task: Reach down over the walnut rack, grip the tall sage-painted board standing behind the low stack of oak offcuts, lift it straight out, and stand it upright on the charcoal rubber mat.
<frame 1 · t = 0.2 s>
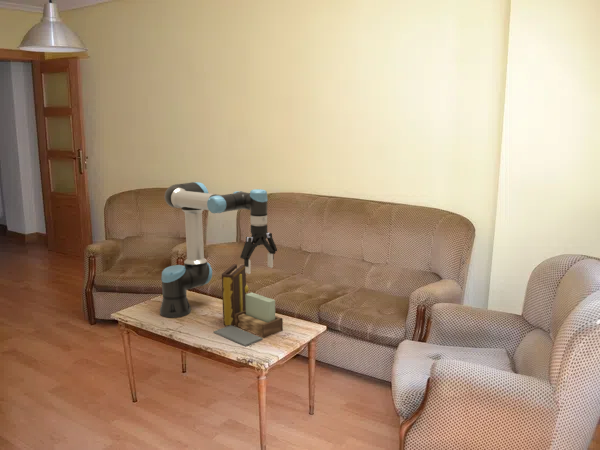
hand: (259, 270, 242), 29 cm above the table, tool pointing down, fingers open, 13 cm apart
rack: (260, 327, 250), on the table
mat: (237, 336, 240), on the table
offcut stack: (252, 324, 246), in the rack
book: (235, 318, 262), on the table
pale green slab: (260, 312, 249), in the rack
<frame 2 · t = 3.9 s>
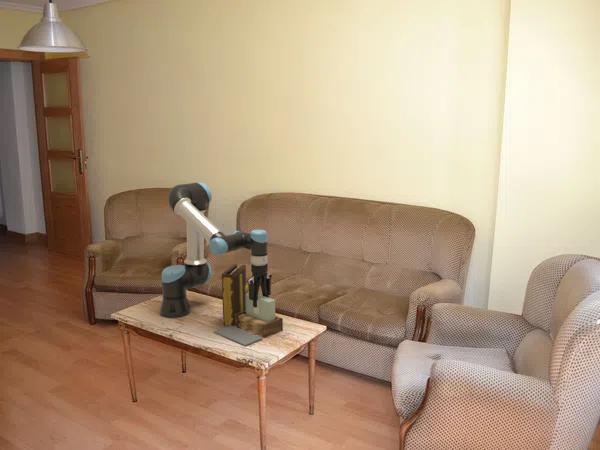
hand: (260, 311, 249), 8 cm above the table, tool pointing down, fingers closed on pale green slab, 4 cm apart
pale green slab: (260, 312, 249), in the rack, touching gripper
everything else where it was.
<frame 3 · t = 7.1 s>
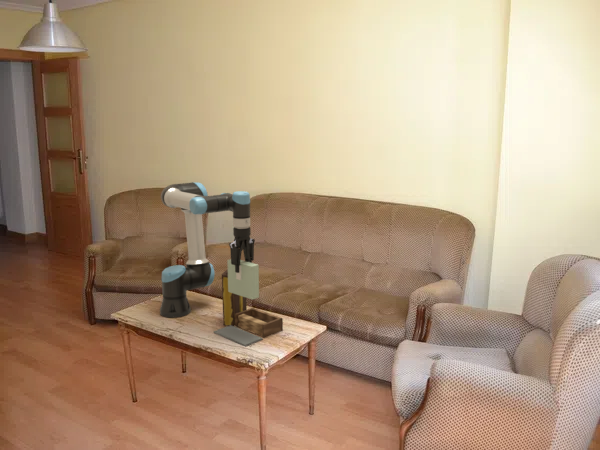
hand: (242, 278, 238), 26 cm above the table, tool pointing down, fingers closed on pale green slab, 4 cm apart
pale green slab: (243, 278, 238), point 26 cm above the table, touching gripper
everything else where it was.
when the fingers open (9 cm above the table, at t = 10.4 s): pale green slab stays where it is, resting on mat.
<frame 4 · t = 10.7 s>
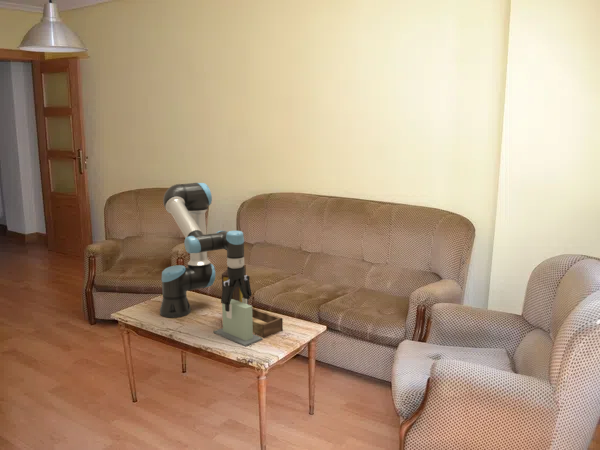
hand: (237, 314, 238), 10 cm above the table, tool pointing down, fingers open, 8 cm apart
pale green slab: (237, 318, 239), on the mat, point 8 cm above the table
everything else where it was.
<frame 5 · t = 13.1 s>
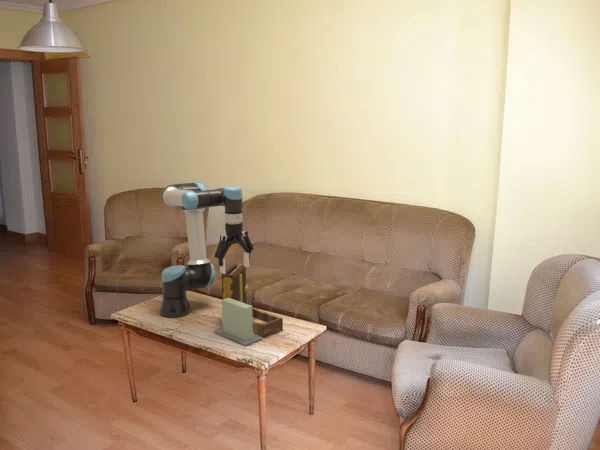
hand: (234, 269, 235), 31 cm above the table, tool pointing down, fingers open, 13 cm apart
nothing on the table moved.
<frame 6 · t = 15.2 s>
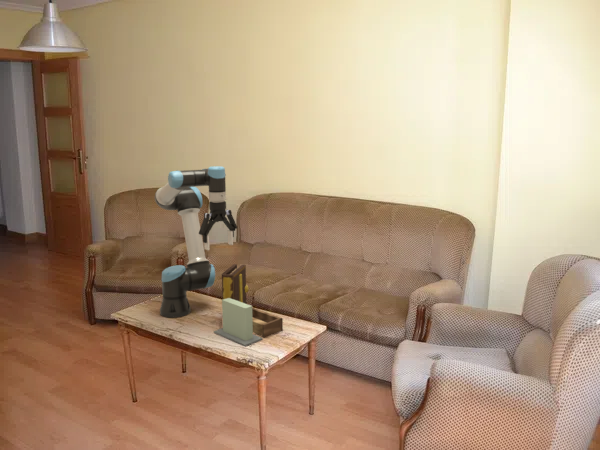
hand: (219, 247, 243), 39 cm above the table, tool pointing down, fingers open, 13 cm apart
nothing on the table moved.
at the end: pale green slab inside the target area on the mat (0.0 cm from its centre), point 8.3 cm above the mat's base; pale green slab tilted 0°; the gripper is holding nothing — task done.
